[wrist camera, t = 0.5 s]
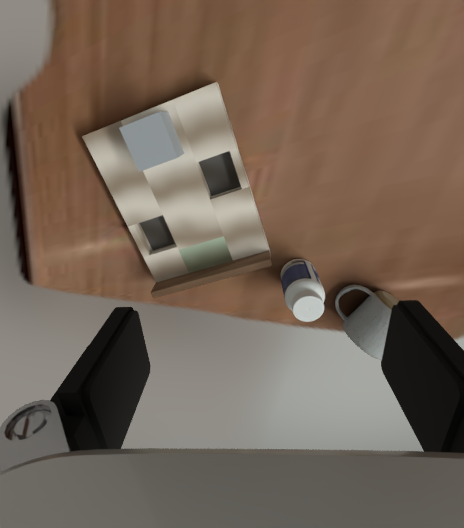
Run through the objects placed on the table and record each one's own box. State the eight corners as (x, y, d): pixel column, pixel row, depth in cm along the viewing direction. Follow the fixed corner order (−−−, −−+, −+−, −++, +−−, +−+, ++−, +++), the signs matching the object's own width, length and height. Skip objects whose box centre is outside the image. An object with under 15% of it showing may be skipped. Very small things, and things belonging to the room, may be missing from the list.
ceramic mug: (407, 301, 49) (432, 331, 42) (372, 335, 52) (390, 369, 45) (354, 269, 47) (370, 296, 40) (321, 307, 50) (331, 338, 44)
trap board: (89, 135, 40) (69, 138, 36) (218, 83, 37) (213, 79, 32) (162, 281, 50) (153, 298, 45) (270, 250, 46) (272, 265, 42)
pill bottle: (274, 280, 48) (279, 317, 40) (290, 252, 46) (299, 285, 37) (304, 293, 49) (316, 332, 40) (321, 265, 47) (338, 300, 38)
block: (131, 126, 38) (119, 127, 34) (168, 111, 37) (159, 111, 33) (149, 166, 40) (139, 172, 36) (184, 153, 39) (177, 157, 35)
